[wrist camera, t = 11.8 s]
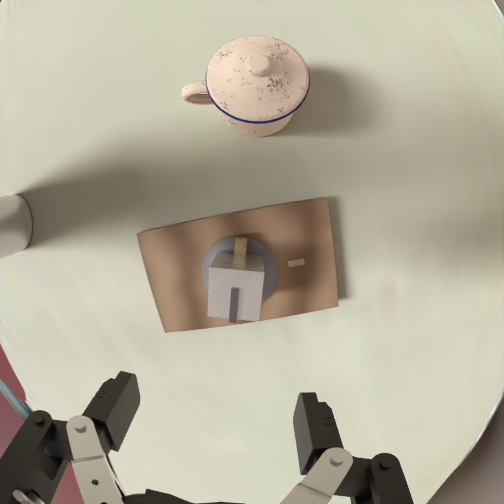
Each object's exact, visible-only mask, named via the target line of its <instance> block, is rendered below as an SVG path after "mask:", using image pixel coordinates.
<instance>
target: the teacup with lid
mask: <svg viewBox="0 0 504 504" xmlns="http://www.w3.org/2000/svg"><path fill="white" fill-rule="evenodd" d="M309 84H310V77H309V72H308V68H307V66H306V64H305V62H304V60H303V58H302V57H301V55H300V54H299V53H298V52H297V51H296V50H295V49H294V48H293V47H291V46H290V45H288V44H287V43H285V42H283V41H281V40H279V39H276V38H272V37H268V36H247V37H242V38H239V39H236V40H234V41H231V42H230V43H228V44H226V45H225V46H223V47H222V48H221V49H220V50H219V51H218V52H217V53H216V54H215V55H214V57H213V58H212V60H211V61H210V63H209V66H208V68H207V72H206V81H198V82H193V83H190V84H188V85H186V86H185V87H183V89H182V98H183V99H184V100H185V101H187V102H189V103H192V104H199V105H210V104H215V106H216V107H217V108H218V109H219V111H220V113H221V115H222V117H223V119H224V120H225V122H226V123H227V124H228V125H229V126H230V127H231V128H232V129H234V130H235V131H237V132H239V133H241V134H243V135H246V136H251V137H263V136H268V135H271V134H274V133H276V132H278V131H279V130H281V129H282V128H283V127H285V126H286V124H287V123H288V122H289V121H290V119H291V117H292V115H293V114H294V112H295V111H296V110H297V109H298V108H299V107H300V106H301V104H302V103H303V101H304V100H305V98H306V96H307V93H308V90H309ZM206 92H208V94H198V93H206Z"/></svg>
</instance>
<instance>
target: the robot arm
mask: <svg viewBox="0 0 504 504" xmlns="http://www.w3.org/2000/svg"><path fill="white" fill-rule="evenodd" d="M31 235H32V218H31V213H30V210H29V207H28V205H27V203H26V201H25V200H24V199H23V198H22V197H21V196H18V195H12V196H5V197H0V259H1V258H4V257H6V256H9V255H11V254H14V253H16V252H19V251H22V250H24V249H25V248H26V247H27V246H28V244H29V242H30V239H31ZM139 404H140V393H139V388H138V383H137V378H136V375H135V374H132V373H128V372H124V371H120V372H119V374H118V375H117V377H116V378H115V379H112V378H110V379H109V380H107V381H106V382H104V383H103V384H102V386H101V387H100V389H99V391H98V392H97V393H96V395H95V396H94V398H93V399H92V401H91V402H90V404H89V405H88V407H87V408H86V410H85V411H84V413H83V414H82V416H75V417H72V418H71V419H69V421H60V420H53V419H52V417H51V416H50V414H49V413H48V412H46V411H42V410H37V411H34V412H32V413H31V414H30V415H29V416H28V418H27V419H26V421H25V422H24V424H23V425H22V427H21V428H20V429H19V431H18V432H17V434H16V435H15V437H14V438H13V440H12V441H11V443H10V445H9V446H8V448H7V449H6V451H5V452H4V454H3V456H2V457H1V459H0V504H50V503H51V501H52V498H53V496H54V494H55V491H56V489H57V487H58V484H59V482H60V480H61V477H62V475H63V473H64V471H65V469H66V466H67V464H68V462H69V460H72V466H73V470H74V473H75V476H76V480H77V483H78V486H79V489H80V492H81V495H82V498H83V500H84V503H85V504H195V503H191V502H188V501H185V500H183V499H180V498H178V497H175V496H173V495H171V494H167V493H162V492H158V491H154V490H150V489H146V492H145V494H131V495H126V493H125V491H124V489H123V487H122V485H121V483H120V481H119V479H118V477H117V474H116V472H115V470H114V467H113V465H112V463H111V460H110V457H109V455H108V454H109V452H110V450H114V451H117V452H118V451H119V449H120V446H121V444H122V442H123V440H124V437H125V435H126V433H127V431H128V429H129V426H130V424H131V422H132V420H133V418H134V416H135V413H136V411H137V409H138V407H139ZM293 425H294V431H295V438H296V445H297V452H298V459H299V466H300V473H301V475H306V476H305V478H304V479H303V480H302V481H301V482H300V483H298V484H297V485H296V486H295V487H294V488H293V490H292V491H291V492H290V493H289V494H288V495H287V496H286V497H285V499H284V500H283V501H282V502H281V503H280V504H328V502H329V501H330V499H331V497H332V496H333V495H338V496H347V497H350V499H351V504H414V503H413V500H412V497H411V494H410V491H409V488H408V485H407V482H406V479H405V476H404V474H403V471H402V468H401V465H400V462H399V460H398V459H397V458H396V457H395V456H394V455H392V454H389V453H381V454H378V455H376V456H375V457H374V458H373V459H365V458H357V457H354V456H352V455H351V454H350V453H349V452H348V451H347V450H345V449H344V447H343V445H342V441H341V438H340V435H339V431H338V428H337V425H336V422H335V418H334V415H333V412H332V409H331V408H330V407H329V406H328V405H327V403H326V402H318V399H317V395H316V393H315V392H309V393H299V396H298V400H297V404H296V408H295V411H294V416H293ZM198 504H243V503H228V502H213V503H198Z"/></svg>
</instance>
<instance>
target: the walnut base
mask: <svg viewBox="0 0 504 504" xmlns="http://www.w3.org/2000/svg"><path fill="white" fill-rule="evenodd" d="M236 237H247V247H246V254H250V255H261V256H263V263H264V281H263V290H262V299H261V308H260V317H259V321H262V320H269V319H275V318H281V317H286V316H292V315H297V314H303V313H308V312H313V311H318V310H323V309H328V308H333V307H338V291H337V278H336V267H335V257H334V247H333V238H332V230H331V222H330V214H329V207H328V200H327V198H317V199H311V200H304V201H298V202H291V203H285V204H279V205H273V206H267V207H262V208H256V209H250V210H245V211H239V212H234V213H228V214H223V215H218V216H213V217H207V218H202V219H197V220H192V221H188V222H183V223H178V224H173V225H168V226H164V227H159V228H155V229H150V230H146V231H142V232H140V233H138V234H137V238H138V242H139V247H140V251H141V254H142V258H143V262H144V266H145V269H146V273H147V277H148V280H149V284H150V287H151V290H152V294H153V297H154V300H155V304H156V307H157V310H158V313H159V316H160V319H161V322H162V325H163V328H164V331H165V333H167V332H178V331H187V330H196V329H205V328H213V327H221V326H228V325H236V324H243V323H249V322H256V321H250V320H239V319H237V323H229V318H219V317H210V316H207V315H208V288H209V267H210V265H211V263H212V262H213V260H214V258H215V256H216V254H217V252H228V253H234V248H235V238H236Z"/></svg>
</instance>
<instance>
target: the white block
mask: <svg viewBox="0 0 504 504" xmlns="http://www.w3.org/2000/svg"><path fill="white" fill-rule="evenodd" d="M246 247H247V237H236V238H235V248H234V253H228V252H217V254H216V256H215V258H214V260H213V262H212V263H211V265H210V267H209V288H208V315H207V316H210V317H219V318H229V323H237V319H239V320H250V321H259V317H260V308H261V299H262V290H263V281H264V263H263V256H261V255H250V254H246Z"/></svg>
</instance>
